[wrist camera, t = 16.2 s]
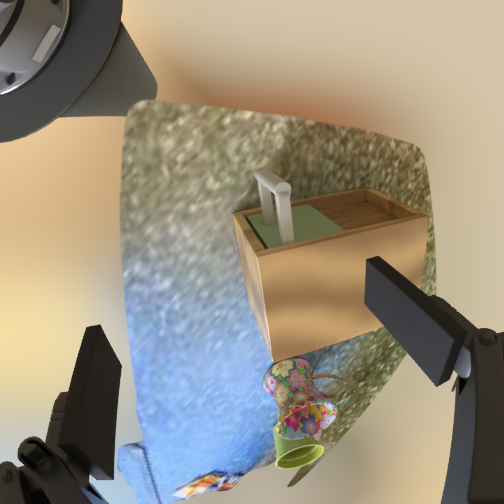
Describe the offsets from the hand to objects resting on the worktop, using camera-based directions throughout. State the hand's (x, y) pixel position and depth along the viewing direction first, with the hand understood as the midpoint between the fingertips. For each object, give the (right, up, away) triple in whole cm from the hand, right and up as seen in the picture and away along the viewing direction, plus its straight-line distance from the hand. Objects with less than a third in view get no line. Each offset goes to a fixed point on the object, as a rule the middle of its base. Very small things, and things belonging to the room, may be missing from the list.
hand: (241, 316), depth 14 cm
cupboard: (+8, +4, +26) cm, 27 cm away
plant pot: (+7, -31, +42) cm, 53 cm away
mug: (+7, -16, +35) cm, 39 cm away
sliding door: (+3, +10, +20) cm, 23 cm away
